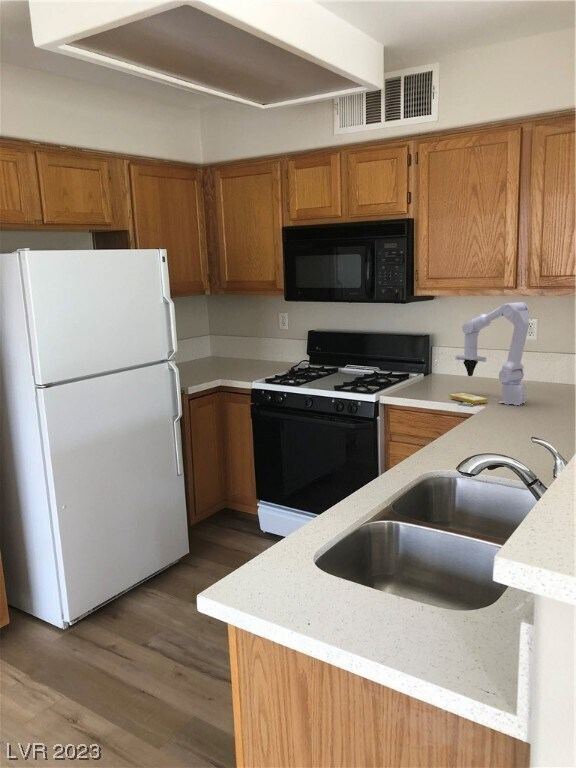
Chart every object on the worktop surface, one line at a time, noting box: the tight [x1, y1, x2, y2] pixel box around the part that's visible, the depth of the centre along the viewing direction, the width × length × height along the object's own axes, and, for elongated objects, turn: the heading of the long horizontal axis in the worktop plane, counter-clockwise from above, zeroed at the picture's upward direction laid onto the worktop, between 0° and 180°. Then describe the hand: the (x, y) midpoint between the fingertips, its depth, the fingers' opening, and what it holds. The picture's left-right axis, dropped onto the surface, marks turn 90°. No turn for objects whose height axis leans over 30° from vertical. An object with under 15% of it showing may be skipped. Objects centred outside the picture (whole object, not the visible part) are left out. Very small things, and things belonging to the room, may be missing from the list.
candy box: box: [449, 392, 489, 405], centre depth 276 cm, size 16×2×8 cm
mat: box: [457, 402, 478, 408], centre depth 271 cm, size 7×10×1 cm
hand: (470, 375), depth 288 cm, fingers closed
